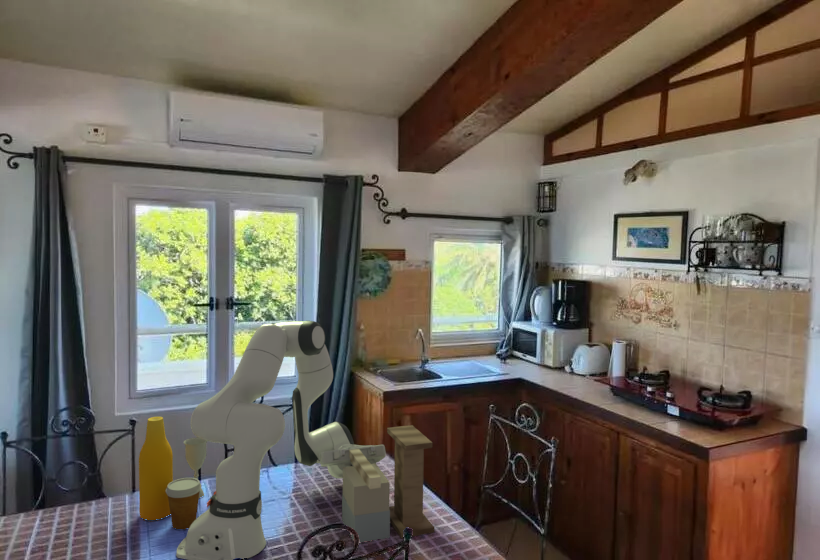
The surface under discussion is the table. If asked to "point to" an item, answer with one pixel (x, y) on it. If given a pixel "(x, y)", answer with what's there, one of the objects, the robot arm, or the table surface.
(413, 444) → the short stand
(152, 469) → the beer bottle
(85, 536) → the table surface
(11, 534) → the table surface
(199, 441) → the chalice
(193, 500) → the disposable coffee cup
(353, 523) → the tower base block
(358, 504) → the tower top block
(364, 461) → the batten
